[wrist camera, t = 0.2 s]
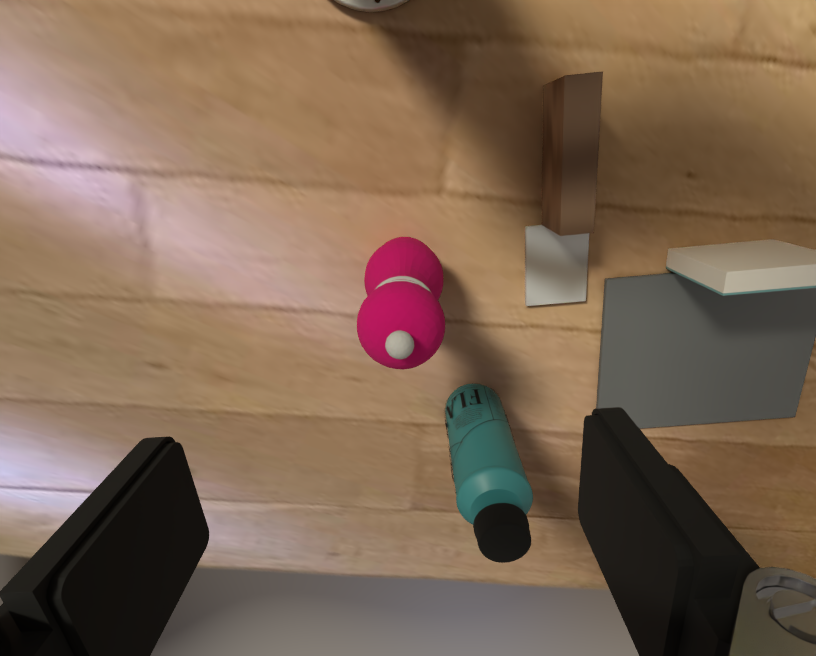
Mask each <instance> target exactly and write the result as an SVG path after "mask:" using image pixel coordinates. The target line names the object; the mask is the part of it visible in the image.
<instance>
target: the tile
mask: <svg viewBox="0 0 816 656" xmlns="http://www.w3.org/2000/svg"><path fill="white" fill-rule="evenodd" d="M666 269H668V270H670V271H672V272H674V273H676V274H679V275H681V276H683V277H685V278H687V279H689V280H691V281H693V282H695V283H697V284H699V285H701V286H704V287H706V288H708V289H710V290H712V291H714V292H716V293H718V294H720V295H722V296H726V295H737V294H749V293H760V292H772V291H784V290H795V289H807V288H816V250H813V249H810V248H806V247H802V246H798V245H794V244H790V243H786V242H782V241H778V240H774V239H769V240H758V241H747V242H736V243H725V244H714V245H703V246H692V247H681V248H670V249H668V255H667V263H666Z"/></svg>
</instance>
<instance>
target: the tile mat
mask: <svg viewBox="0 0 816 656" xmlns="http://www.w3.org/2000/svg"><path fill="white" fill-rule="evenodd" d="M815 337H816V288H807V289H795V290H784V291H772V292H760V293H749V294H737V295H726V296H722V295H720V294H718V293H716V292H714V291H712V290H710V289H708V288H706V287H704V286H701V285H699V284H697V283H695V282H693V281H691V280H689V279H687V278H685V277H683V276H681V275H679V274H676V273H664V274H653V275H642V276H630V277H619V278H608V279H605V285H604V300H603V315H602V330H601V345H600V359H599V374H598V389H597V404H596V409H597V408H613V407H621V408H623V409H624V410H625V412H626V413H627V414H628V415H629V417H630V418H631V419H632V420H633V422H634V423H635V424H636V425H637V426H638V428H652V427H665V426H679V425H692V424H706V423H719V422H733V421H746V420H760V419H774V418H787V417H795V415H796V411H797V407H798V403H799V399H800V395H801V391H802V387H803V384H804V380H805V376H806V372H807V368H808V364H809V360H810V356H811V352H812V348H813V345H814V341H815Z"/></svg>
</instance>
